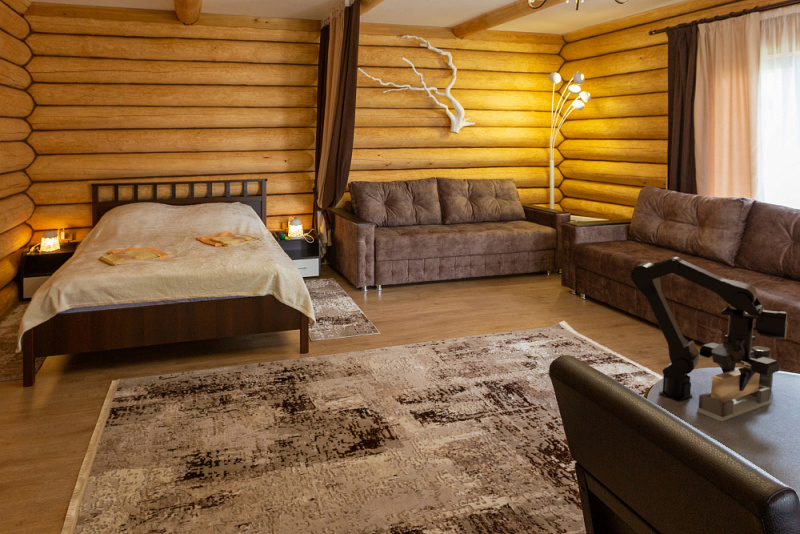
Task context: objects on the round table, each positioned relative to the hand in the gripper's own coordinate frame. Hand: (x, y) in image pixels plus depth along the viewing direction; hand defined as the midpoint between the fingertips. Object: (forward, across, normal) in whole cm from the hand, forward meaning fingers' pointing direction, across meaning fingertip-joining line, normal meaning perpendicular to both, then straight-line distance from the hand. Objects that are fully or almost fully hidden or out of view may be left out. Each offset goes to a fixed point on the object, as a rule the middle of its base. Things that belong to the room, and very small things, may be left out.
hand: (735, 388), depth 166 cm
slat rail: (+5, 0, 0) cm, 5 cm away
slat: (+2, 0, 0) cm, 2 cm away
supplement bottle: (+6, -4, +18) cm, 19 cm away
